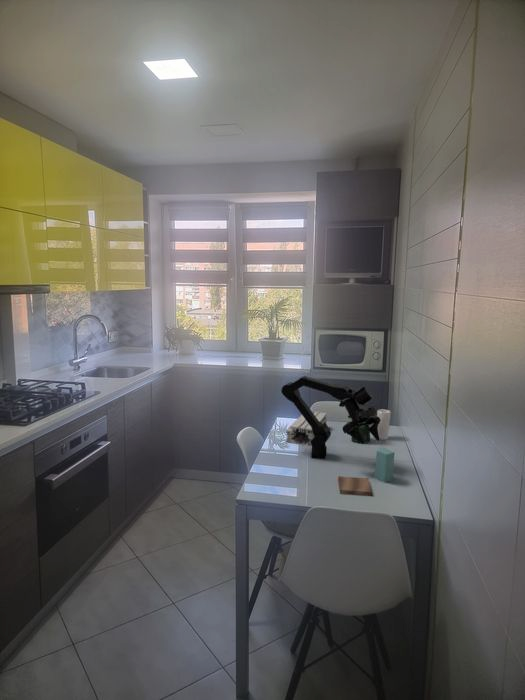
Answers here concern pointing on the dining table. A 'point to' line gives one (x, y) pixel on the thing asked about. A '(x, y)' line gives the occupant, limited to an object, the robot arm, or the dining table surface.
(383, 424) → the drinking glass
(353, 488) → the walnut board
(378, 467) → the teal block
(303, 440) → the aluminum extrusion profile
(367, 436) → the coffee jar
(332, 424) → the dining table surface
